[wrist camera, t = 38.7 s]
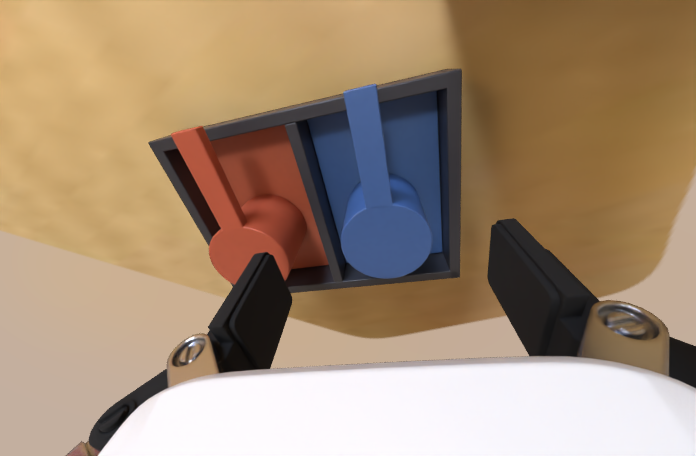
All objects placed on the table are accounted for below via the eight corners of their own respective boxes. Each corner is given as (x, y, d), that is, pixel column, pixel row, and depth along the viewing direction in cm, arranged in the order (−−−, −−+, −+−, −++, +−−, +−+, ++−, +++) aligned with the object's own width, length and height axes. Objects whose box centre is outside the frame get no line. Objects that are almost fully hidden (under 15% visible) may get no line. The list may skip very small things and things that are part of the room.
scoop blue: (355, 241, 17) (350, 282, 14) (320, 93, 13) (300, 102, 9) (422, 232, 16) (434, 274, 13) (409, 72, 12) (423, 72, 9)
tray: (253, 275, 21) (239, 298, 19) (178, 132, 15) (147, 142, 13) (450, 253, 18) (460, 277, 16) (447, 68, 12) (462, 68, 10)
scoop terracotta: (256, 254, 19) (230, 294, 15) (194, 124, 14) (137, 141, 11) (314, 246, 18) (300, 288, 14) (267, 107, 13) (230, 119, 10)
